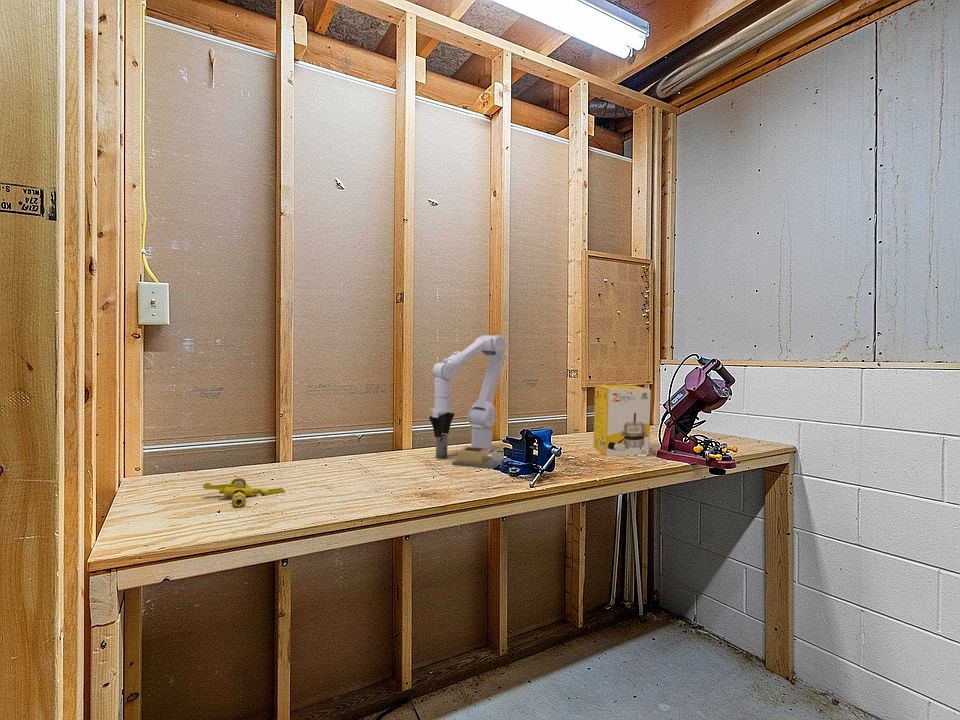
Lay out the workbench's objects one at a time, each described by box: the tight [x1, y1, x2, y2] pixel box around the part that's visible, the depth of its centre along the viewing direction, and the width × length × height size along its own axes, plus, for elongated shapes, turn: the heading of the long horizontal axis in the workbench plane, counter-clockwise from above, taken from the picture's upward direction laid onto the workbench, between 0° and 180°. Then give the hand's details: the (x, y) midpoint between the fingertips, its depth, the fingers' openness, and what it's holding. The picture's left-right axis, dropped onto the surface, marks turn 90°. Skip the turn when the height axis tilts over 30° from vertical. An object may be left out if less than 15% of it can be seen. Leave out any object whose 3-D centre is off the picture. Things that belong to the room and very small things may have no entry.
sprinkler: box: [202, 477, 286, 507], centre depth 128 cm, size 19×4×15 cm
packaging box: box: [593, 384, 652, 457], centre depth 193 cm, size 16×16×25 cm
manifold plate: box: [452, 445, 504, 470], centre depth 170 cm, size 12×18×4 cm, turn 75°
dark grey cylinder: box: [435, 433, 449, 460], centre depth 177 cm, size 4×4×8 cm
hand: (441, 435), depth 177 cm, fingers open, 7 cm apart
